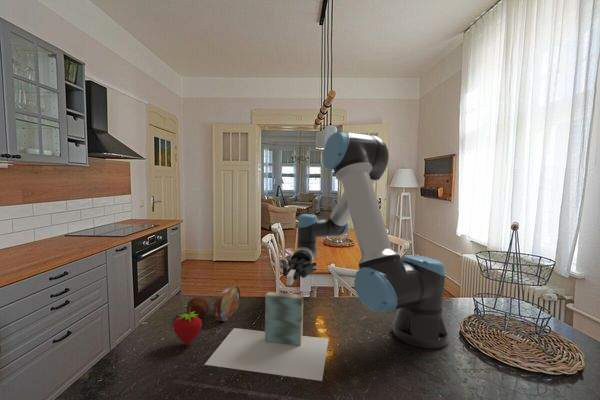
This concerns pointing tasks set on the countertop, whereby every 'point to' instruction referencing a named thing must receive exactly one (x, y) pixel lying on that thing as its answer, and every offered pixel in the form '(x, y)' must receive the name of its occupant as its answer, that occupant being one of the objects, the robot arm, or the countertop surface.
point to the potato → (198, 306)
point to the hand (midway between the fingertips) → (288, 280)
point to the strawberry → (187, 327)
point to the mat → (271, 355)
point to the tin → (227, 303)
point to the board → (284, 318)
